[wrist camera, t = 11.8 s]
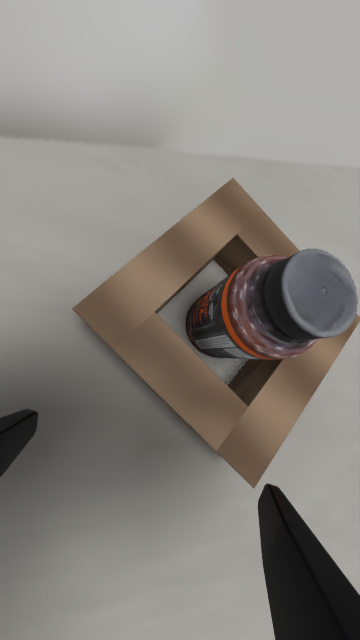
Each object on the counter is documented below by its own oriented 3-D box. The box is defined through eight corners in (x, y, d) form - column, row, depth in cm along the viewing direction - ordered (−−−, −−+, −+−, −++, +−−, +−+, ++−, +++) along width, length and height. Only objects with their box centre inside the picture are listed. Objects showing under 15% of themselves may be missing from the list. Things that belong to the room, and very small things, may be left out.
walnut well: (222, 457, 18) (253, 488, 14) (84, 321, 17) (71, 308, 13) (316, 325, 23) (361, 318, 19) (211, 212, 22) (233, 177, 18)
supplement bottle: (199, 283, 20) (286, 199, 10) (252, 310, 21) (386, 263, 11) (174, 342, 19) (244, 322, 8) (232, 368, 20) (366, 383, 9)
